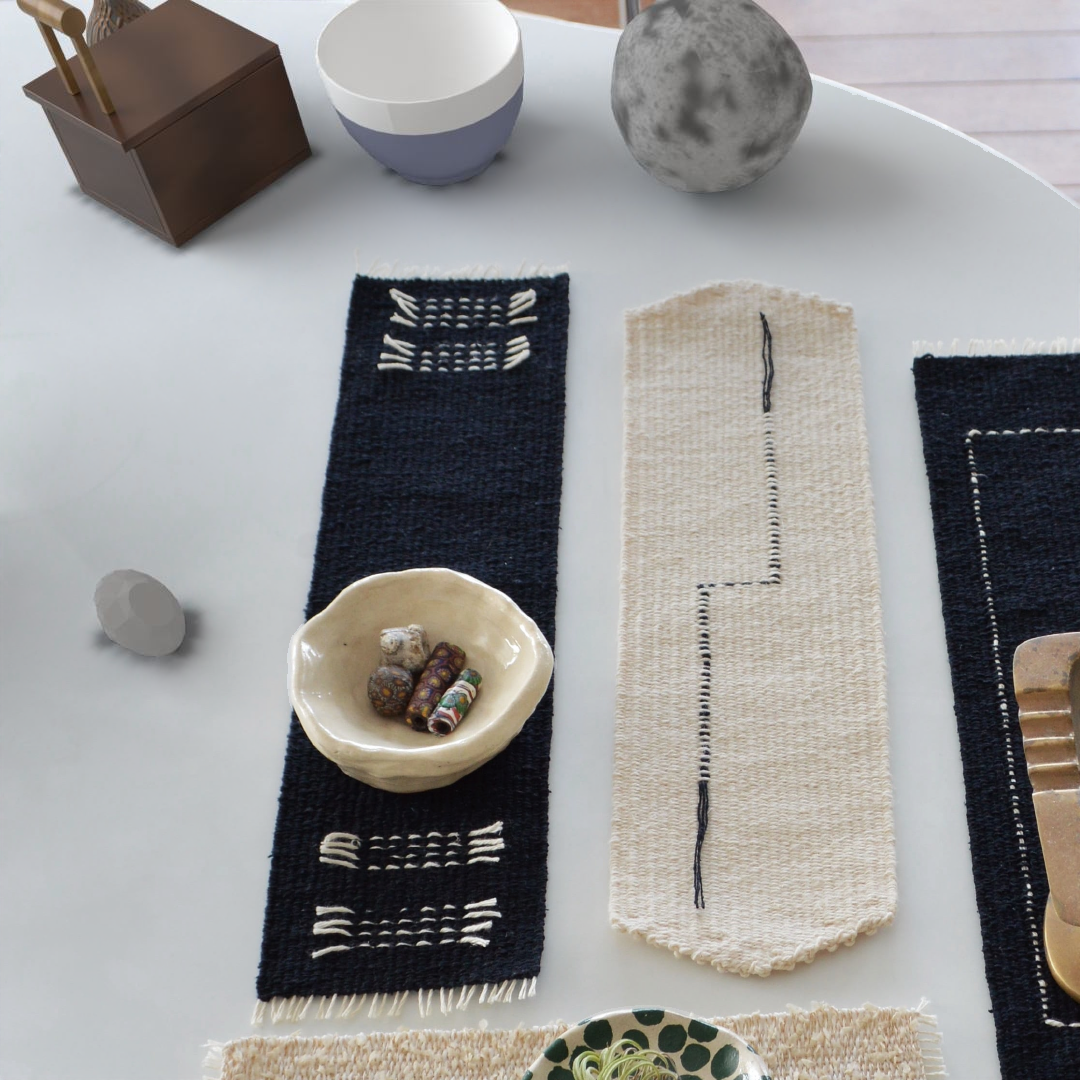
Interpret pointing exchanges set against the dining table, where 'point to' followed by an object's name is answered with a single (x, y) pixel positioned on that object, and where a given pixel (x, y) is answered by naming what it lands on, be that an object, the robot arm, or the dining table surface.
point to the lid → (141, 67)
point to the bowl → (425, 82)
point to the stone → (708, 92)
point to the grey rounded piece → (139, 613)
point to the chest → (195, 157)
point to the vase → (111, 17)
